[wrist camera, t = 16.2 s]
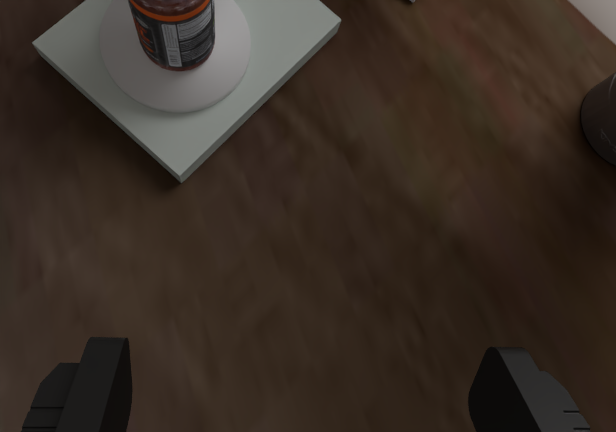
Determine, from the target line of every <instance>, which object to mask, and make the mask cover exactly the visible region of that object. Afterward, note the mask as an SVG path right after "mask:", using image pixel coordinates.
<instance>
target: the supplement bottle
mask: <svg viewBox="0 0 616 432" xmlns="http://www.w3.org/2000/svg"><path fill="white" fill-rule="evenodd" d="M128 3H129V7H130V9H131V13H132V16H133V20H134V23H135V27H136V30H137V34H138V38H139V41H140V44H141V46H142V48H143V50H144V52H145V54H146V55H147V56H148V58H149V59H150V60H151V61H152V62H154V63H155V64H156V65H158V66H160V67H161V68H163V69H167V70H170V71H188V70H191V69H194V68H197V67H198V66H200V65H202V64H203V63H204V62H205V61H206V60H207V59H208V58H209V56H210V55H211V53H212V50H213V48H214V44H215V7H214V0H128Z"/></svg>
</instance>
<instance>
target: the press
mask: <svg viewBox="0 0 616 432" xmlns="http://www.w3.org/2000/svg"><path fill="white" fill-rule="evenodd" d="M214 7H215V44H214V48H213V50H212V53H211V55H210V56H209V58H208V59H207V60H206V61H205V62H204V63H203V64H202V65H200V66H198V67H197V68H194V69H191V70H188V71H170V70H167V69H163V68H161V67H160V66H158V65H156V64H155V63H154V62H152V61H151V60H150V59H149V58H148V56H147V55H146V54H145V52H144V50H143V48H142V46H141V44H140V41H139V38H138V34H137V30H136V27H135V23H134V20H133V16H132V13H131V9H130V7H129V3H128V0H85V1H84V2H83V3H82V4H80V5H79V6H78V7H77V8H75V9H74V10H73V11H71V12H70V13H69V14H68V15H66V16H65V17H64V18H63V19H61V20H60V21H59V22H58V23H56V24H55V25H54V26H53V27H51V28H50V29H49V30H47V31H46V32H45V33H44V34H42V35H41V36H40V37H39V38H37V39H36V40H35V41H34V42H32V44H33V45H34V47H35V48H36V50H37V51H38V53H39V54H40V56H41V57H42V58H44V59H45V60H46V61H47V62H48V63H49V64H50V65H51V66H52V67H54V68H55V69H56V70H57V71H58V72H59V73H60V74H61V75H62V76H63V77H65V78H66V79H67V80H68V81H69V82H70V83H71V84H72V85H73V86H75V87H76V88H77V89H78V90H79V91H80V92H81V93H82V94H83V95H85V96H86V97H87V98H88V99H89V100H90V101H91V102H92V103H93V104H94V105H96V106H97V107H98V108H99V109H100V110H101V111H102V112H103V113H104V114H106V115H107V116H108V117H109V118H110V119H111V120H112V121H113V122H114V123H115V124H117V125H118V126H119V127H120V128H121V129H122V130H123V131H124V132H125V133H127V134H128V135H129V136H130V137H131V138H132V139H133V140H134V141H135V142H136V143H138V144H139V145H140V146H141V147H142V148H143V149H144V150H145V151H146V152H148V153H149V154H150V155H151V156H152V157H153V158H154V159H155V160H156V161H158V162H159V163H160V164H161V165H162V166H163V167H164V168H165V169H166V170H167V171H169V172H170V173H171V174H172V175H173V176H174V177H175V178H176V179H177V180H179V181H180V182H181V183H182V182H184V181H185V180H186V179H187V178H188V177H189V176H190V175H191V174H192V173H193V172H194V171H195V170H196V169H197V168H198V167H199V166H200V165H201V164H202V163H203V162H204V161H205V160H206V159H207V158H208V157H209V156H210V155H211V154H212V153H213V152H214V151H215V150H216V149H217V148H218V147H220V146H221V145H222V144H223V143H224V142H225V141H226V140H227V139H228V138H229V137H230V136H231V135H232V134H233V133H234V132H235V131H236V130H237V129H238V128H239V127H240V126H241V125H242V124H243V123H244V122H245V121H246V120H247V119H248V118H249V117H250V116H251V115H252V114H253V113H254V112H256V111H257V110H258V109H259V108H260V107H261V106H262V105H263V104H264V103H265V102H266V101H267V100H268V99H269V98H270V97H271V96H272V95H273V94H274V93H275V92H276V91H277V90H278V89H279V88H280V87H281V86H282V85H283V84H284V83H285V82H286V81H287V80H288V79H289V78H290V77H292V76H293V75H294V74H295V73H296V72H297V71H298V70H299V69H300V68H301V67H302V66H303V65H304V64H305V63H306V62H307V61H308V60H309V59H310V58H311V57H312V56H313V55H314V54H315V53H316V52H317V51H318V50H319V49H320V48H321V47H322V46H323V45H324V44H325V43H326V42H328V41H329V40H330V39H331V38H332V37H333V36H334V35H335V34H336V33H337V31H338V28H339V25H340V22H341V19H340V18H339V17H338V16H336V15H335V14H334V13H333V12H332V11H331V10H330V9H328V8H327V7H326V6H325V5H324V4H323V3H322V2H320V1H319V0H214Z"/></svg>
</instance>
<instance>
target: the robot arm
mask: <svg viewBox="0 0 616 432" xmlns="http://www.w3.org/2000/svg"><path fill="white" fill-rule="evenodd" d="M581 122H582V126H583V131H584V133H585V135H586V138H587V140H588V141H589V143H590V144H591V146H592V147H593V149H594V150H595V151H596V152H597V153H598V154H599V155H600V156H601V157H602V158H604V159H605V160H606V161H608V162H609V163H611V164H613V165H616V72H615V73H614V74H612V75H611V76H609V77H608V78H607V79H605V80H604V81H602V82H601V83H599V84H598V85H597V86H595V87H594V88H592V89H591V90H590V92H589V93H588V94H587V95H586V97H585V100H584V102H583V105H582V110H581ZM131 403H132V376H131V363H130V350H129V341H128V338H108V337H91V338H90V339H89V340H88V342H87V344H86V347H85V350H84V353H83V355H82V358H81V361H80V363H59V364H58V365H57V367H56V368H55V369H54V370H53V371H52V372H51V373H50V374H49V375H48V376H47V377H46V378H45V379H44V380H43V381H42V382H41V383H40V386H39V388H38V390H37V393H36V395H35V398H34V400H33V402H32V405H31V409H30V412H28V414H27V417H26V419H25V421H24V424H23V426H22V431H21V432H126V429H127V425H128V421H129V416H130V410H131ZM468 406H469V412H470V416H471V419H472V422H473V424H474V427H475V429H476V432H590V427H589V425H588V424H587V422H586V420H585V419H584V417H583V416H582V415H580V414H579V409H578V408H577V406H576V404H575V403H574V401H573V399H572V398H571V396H570V395H569V393H568V391H567V390H566V389H565V388H564V387H563V386H562V385H561V384H560V383H559V382H558V381H557V380H555V379H554V378H553V377H552V376H551V375H550V374H549V373H548V372H547V371H539V369H538V368H537V366H536V364H535V363H534V361H533V359H532V358H531V356H530V354H529V353H528V352H527V350H525V349H524V348H518V347H490V348H488V349H487V350H486V352H485V354H484V357H483V359H482V362H481V364H480V367H479V369H478V371H477V374H476V376H475V379H474V381H473V384H472V386H471V389H470V391H469V397H468Z"/></svg>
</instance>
